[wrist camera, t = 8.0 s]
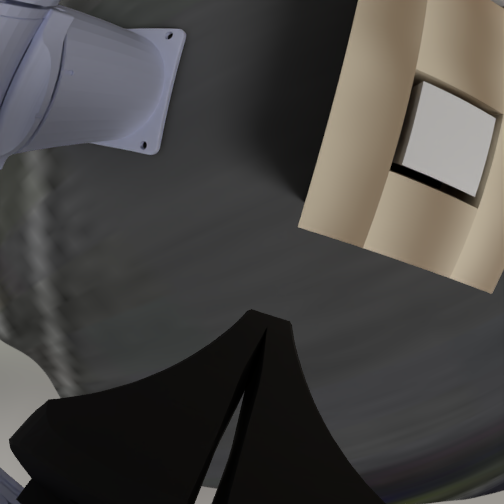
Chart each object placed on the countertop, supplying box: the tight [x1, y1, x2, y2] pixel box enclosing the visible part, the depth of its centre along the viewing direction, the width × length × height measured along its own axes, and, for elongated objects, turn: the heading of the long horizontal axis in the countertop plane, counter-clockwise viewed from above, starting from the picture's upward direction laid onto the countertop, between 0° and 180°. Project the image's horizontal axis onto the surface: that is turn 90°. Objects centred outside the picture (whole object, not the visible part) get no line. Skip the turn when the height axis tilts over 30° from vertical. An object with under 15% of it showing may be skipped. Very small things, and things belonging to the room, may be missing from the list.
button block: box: [298, 0, 504, 294], centre depth 10 cm, size 10×21×5 cm, turn 167°
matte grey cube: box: [392, 81, 496, 197], centre depth 12 cm, size 4×4×5 cm
